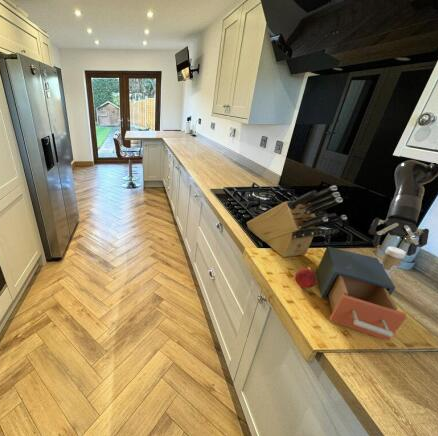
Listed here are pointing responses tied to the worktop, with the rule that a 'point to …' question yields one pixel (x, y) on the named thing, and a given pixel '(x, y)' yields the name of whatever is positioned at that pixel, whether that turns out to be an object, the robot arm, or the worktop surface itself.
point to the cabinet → (350, 270)
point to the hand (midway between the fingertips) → (392, 250)
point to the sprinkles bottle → (392, 259)
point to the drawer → (364, 307)
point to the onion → (305, 278)
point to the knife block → (297, 222)
